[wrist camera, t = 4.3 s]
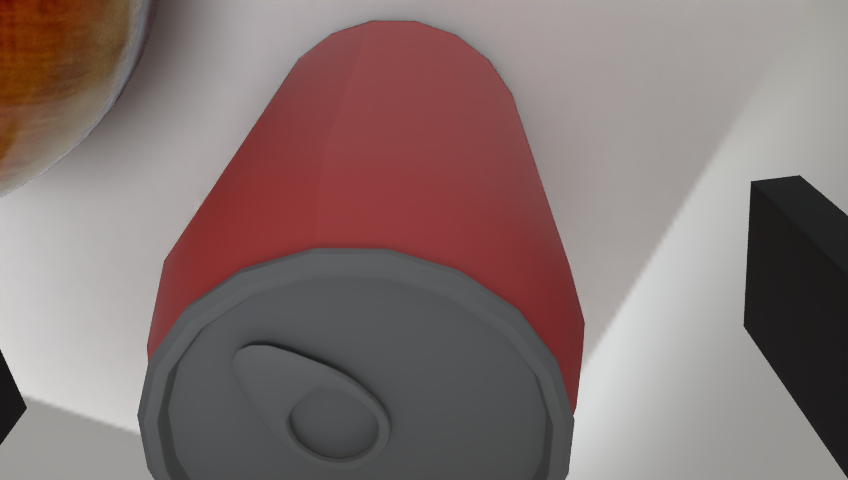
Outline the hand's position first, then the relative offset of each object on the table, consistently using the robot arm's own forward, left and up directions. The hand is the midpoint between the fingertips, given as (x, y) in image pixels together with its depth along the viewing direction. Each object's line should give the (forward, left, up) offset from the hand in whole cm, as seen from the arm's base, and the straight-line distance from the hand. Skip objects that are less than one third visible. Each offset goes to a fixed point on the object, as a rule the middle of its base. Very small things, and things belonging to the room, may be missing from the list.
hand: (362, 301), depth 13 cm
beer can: (0, 0, -9) cm, 9 cm away
